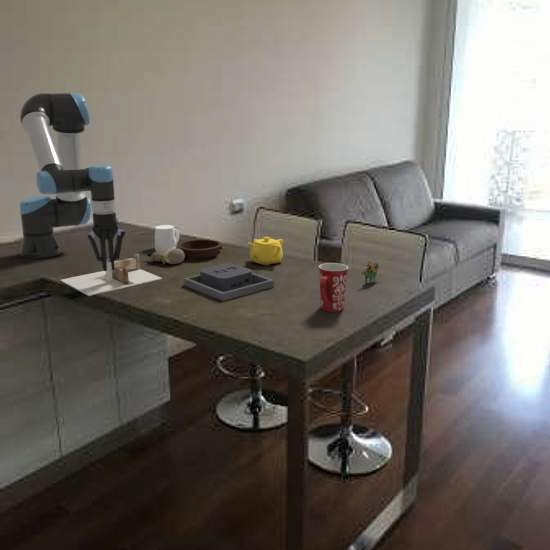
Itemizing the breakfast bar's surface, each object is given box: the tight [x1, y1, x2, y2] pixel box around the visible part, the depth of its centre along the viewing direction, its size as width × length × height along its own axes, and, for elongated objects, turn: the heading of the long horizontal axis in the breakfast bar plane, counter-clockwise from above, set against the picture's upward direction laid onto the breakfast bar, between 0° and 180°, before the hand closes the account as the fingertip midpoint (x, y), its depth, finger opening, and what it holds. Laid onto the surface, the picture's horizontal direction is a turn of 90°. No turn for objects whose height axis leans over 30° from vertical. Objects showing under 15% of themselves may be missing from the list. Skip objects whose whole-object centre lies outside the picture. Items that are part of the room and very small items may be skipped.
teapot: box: [247, 236, 284, 266], centre depth 236 cm, size 14×13×10 cm
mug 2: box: [318, 262, 349, 313], centre depth 185 cm, size 13×9×14 cm
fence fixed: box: [106, 253, 141, 270], centre depth 223 cm, size 13×2×6 cm, turn 132°
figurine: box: [360, 261, 380, 285], centre depth 212 cm, size 3×12×8 cm, turn 141°
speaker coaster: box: [183, 272, 275, 302], centre depth 209 cm, size 22×22×2 cm
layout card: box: [60, 268, 163, 297], centre depth 215 cm, size 22×28×1 cm
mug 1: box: [154, 224, 180, 251], centre depth 258 cm, size 12×9×8 cm
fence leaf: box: [112, 265, 129, 284], centre depth 213 cm, size 13×2×5 cm, turn 38°
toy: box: [146, 247, 185, 265], centre depth 238 cm, size 10×6×15 cm
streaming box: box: [199, 263, 253, 292], centre depth 211 cm, size 14×14×5 cm
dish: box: [177, 238, 223, 260], centre depth 247 cm, size 18×22×5 cm
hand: (109, 279), depth 210 cm, fingers closed
